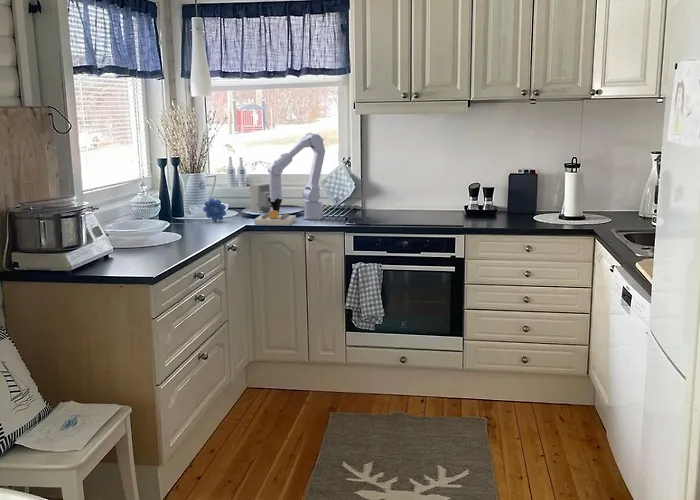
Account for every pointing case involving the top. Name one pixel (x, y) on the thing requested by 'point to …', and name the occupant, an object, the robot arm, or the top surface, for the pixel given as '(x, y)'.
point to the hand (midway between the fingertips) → (276, 213)
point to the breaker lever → (273, 214)
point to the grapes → (214, 209)
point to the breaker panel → (275, 219)
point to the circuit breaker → (260, 197)
